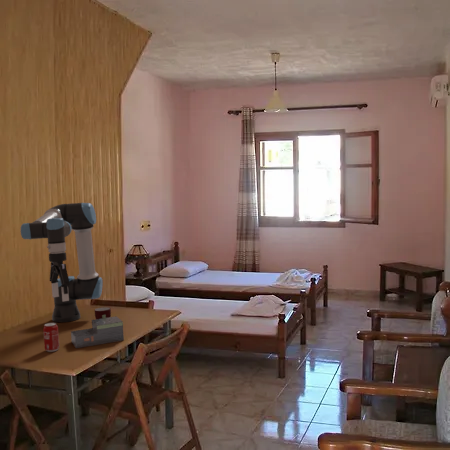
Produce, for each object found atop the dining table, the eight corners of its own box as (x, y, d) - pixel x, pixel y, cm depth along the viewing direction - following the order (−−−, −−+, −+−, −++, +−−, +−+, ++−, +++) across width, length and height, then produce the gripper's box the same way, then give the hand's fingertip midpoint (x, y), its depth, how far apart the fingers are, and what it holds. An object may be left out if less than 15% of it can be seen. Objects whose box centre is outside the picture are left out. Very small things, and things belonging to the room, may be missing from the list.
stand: (71, 344, 262) (70, 319, 261) (117, 337, 271) (116, 313, 270) (76, 351, 251) (74, 325, 250) (124, 343, 260) (122, 318, 259)
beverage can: (46, 348, 252) (44, 322, 251) (60, 347, 253) (58, 322, 252) (43, 353, 246) (41, 326, 245) (57, 351, 246) (55, 325, 246)
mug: (106, 331, 277) (105, 312, 276) (91, 331, 278) (89, 312, 277) (114, 326, 287) (112, 307, 286) (99, 326, 289) (98, 307, 288)
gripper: (40, 251, 258) (43, 296, 259) (58, 255, 237) (61, 304, 239) (56, 249, 262) (59, 294, 263) (75, 253, 242) (78, 301, 243)
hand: (60, 299), depth 251 cm, fingers open, 13 cm apart
